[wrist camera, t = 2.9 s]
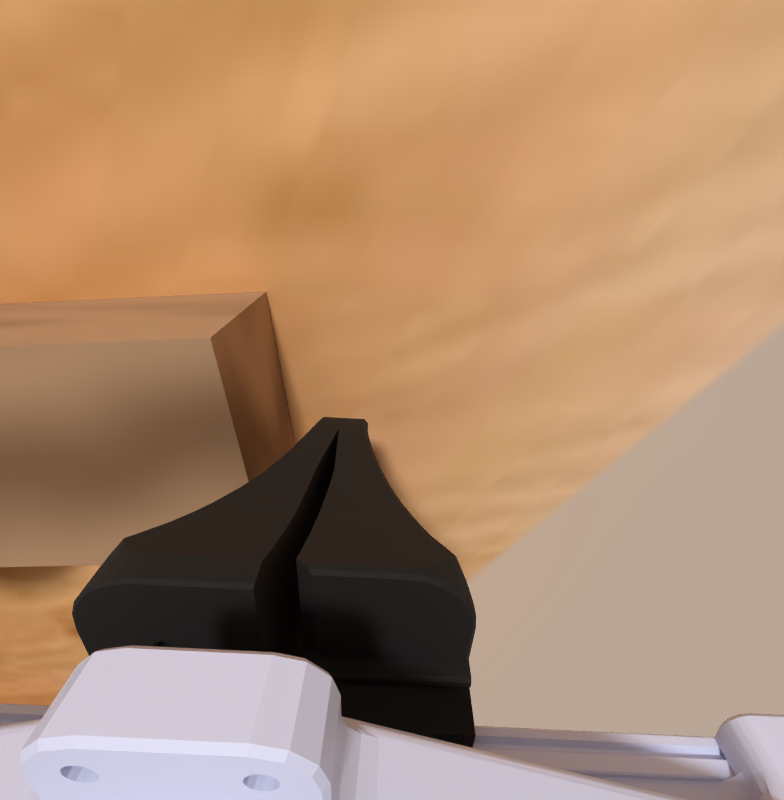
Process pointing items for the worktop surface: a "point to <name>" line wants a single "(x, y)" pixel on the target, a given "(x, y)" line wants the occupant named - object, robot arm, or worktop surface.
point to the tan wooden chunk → (130, 417)
